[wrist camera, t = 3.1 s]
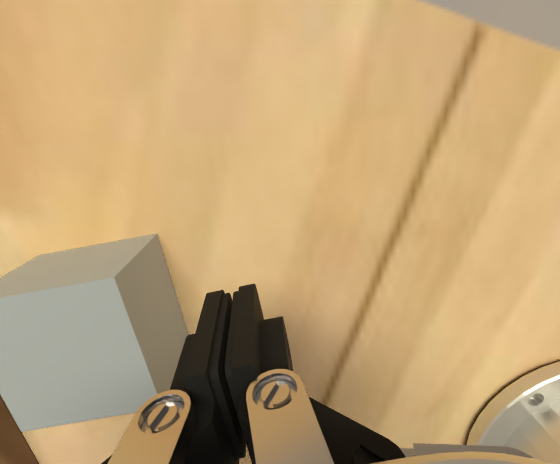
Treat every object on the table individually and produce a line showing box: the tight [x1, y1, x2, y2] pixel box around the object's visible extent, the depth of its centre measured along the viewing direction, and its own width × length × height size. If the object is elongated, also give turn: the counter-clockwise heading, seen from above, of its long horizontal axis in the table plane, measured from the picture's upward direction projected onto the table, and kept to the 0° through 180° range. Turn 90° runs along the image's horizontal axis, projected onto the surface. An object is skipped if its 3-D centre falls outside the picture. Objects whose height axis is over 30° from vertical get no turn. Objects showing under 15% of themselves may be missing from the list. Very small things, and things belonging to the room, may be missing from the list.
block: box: [0, 234, 189, 432], centre depth 15 cm, size 6×6×5 cm
